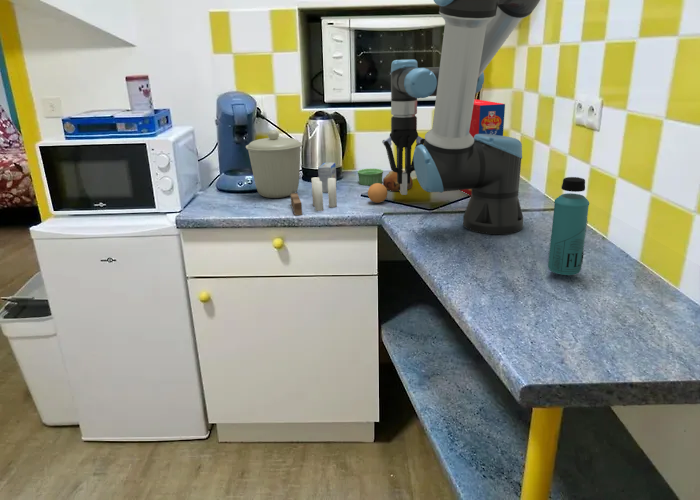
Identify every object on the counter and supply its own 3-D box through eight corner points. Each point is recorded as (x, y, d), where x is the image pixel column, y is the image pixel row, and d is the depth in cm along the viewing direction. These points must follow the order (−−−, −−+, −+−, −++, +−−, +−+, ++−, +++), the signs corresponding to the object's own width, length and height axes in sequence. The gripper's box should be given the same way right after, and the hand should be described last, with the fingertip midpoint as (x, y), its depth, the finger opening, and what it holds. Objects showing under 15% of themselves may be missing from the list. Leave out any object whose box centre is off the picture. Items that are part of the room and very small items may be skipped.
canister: (311, 188, 183) (307, 126, 175) (297, 202, 166) (292, 134, 159) (261, 187, 186) (255, 126, 179) (242, 201, 169) (235, 134, 162)
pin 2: (323, 210, 156) (322, 182, 153) (315, 211, 156) (314, 183, 153) (322, 208, 159) (321, 180, 156) (314, 209, 158) (313, 181, 155)
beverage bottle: (563, 284, 103) (575, 183, 96) (538, 273, 108) (548, 176, 101) (588, 278, 105) (601, 179, 98) (563, 267, 111) (574, 173, 104)
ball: (389, 204, 161) (389, 184, 158) (370, 205, 159) (370, 186, 157) (384, 199, 166) (384, 180, 164) (366, 200, 165) (365, 182, 163)
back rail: (302, 214, 153) (301, 203, 152) (295, 215, 153) (294, 203, 151) (297, 204, 164) (297, 193, 163) (291, 204, 164) (290, 193, 162)
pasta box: (439, 179, 189) (441, 98, 179) (459, 177, 190) (463, 97, 181) (475, 199, 163) (480, 105, 153) (498, 196, 165) (505, 103, 155)
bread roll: (412, 196, 183) (412, 173, 184) (412, 190, 173) (412, 166, 173) (383, 196, 184) (383, 173, 185) (382, 190, 174) (382, 166, 174)
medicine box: (332, 192, 176) (331, 167, 173) (319, 192, 177) (317, 167, 174) (336, 187, 183) (335, 162, 180) (324, 187, 184) (323, 162, 181)
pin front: (337, 207, 159) (336, 179, 156) (329, 207, 159) (328, 179, 156) (336, 205, 162) (334, 177, 159) (328, 205, 161) (326, 178, 158)
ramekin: (385, 180, 191) (385, 168, 189) (380, 186, 182) (380, 174, 181) (360, 180, 193) (360, 168, 191) (355, 186, 184) (355, 173, 183)
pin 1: (321, 206, 161) (319, 178, 158) (313, 206, 160) (312, 179, 158) (320, 204, 163) (318, 177, 160) (312, 204, 163) (310, 177, 160)
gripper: (421, 113, 160) (420, 189, 168) (379, 115, 158) (380, 192, 166) (429, 115, 153) (427, 195, 161) (385, 118, 151) (386, 198, 159)
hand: (403, 193), depth 164 cm, fingers closed
